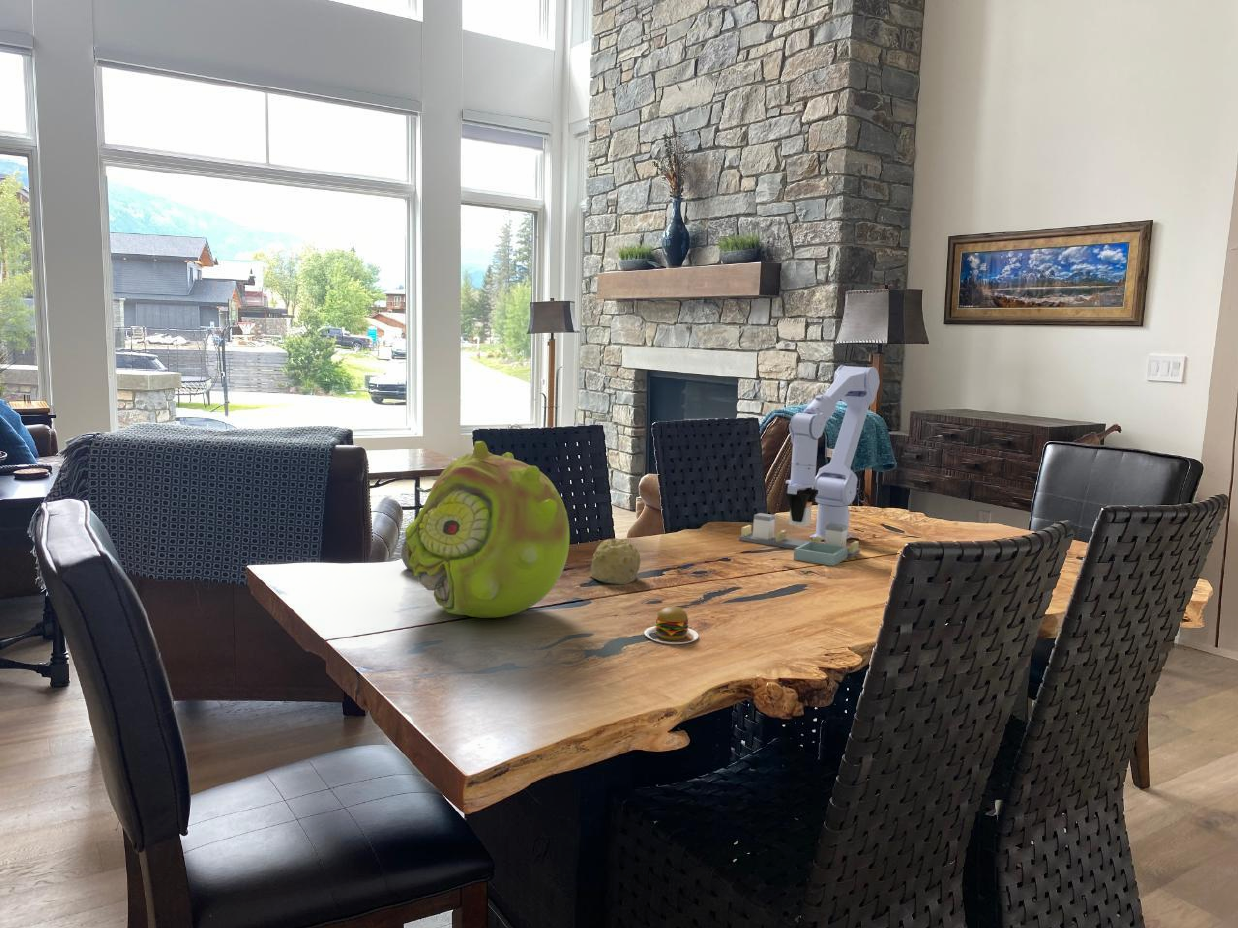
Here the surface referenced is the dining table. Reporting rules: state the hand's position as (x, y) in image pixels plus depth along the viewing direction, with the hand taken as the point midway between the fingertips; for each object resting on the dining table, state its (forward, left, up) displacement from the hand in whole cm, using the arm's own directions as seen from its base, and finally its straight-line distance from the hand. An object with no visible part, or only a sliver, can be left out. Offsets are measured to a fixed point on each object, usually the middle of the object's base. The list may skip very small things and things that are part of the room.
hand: (800, 520), depth 227 cm
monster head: (+89, -24, -7) cm, 92 cm away
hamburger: (+80, +7, -7) cm, 81 cm away
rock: (+54, -19, -7) cm, 58 cm away
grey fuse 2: (0, +9, -6) cm, 11 cm away
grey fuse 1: (0, -9, -6) cm, 11 cm away
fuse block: (0, 0, -7) cm, 7 cm away
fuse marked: (0, 0, -1) cm, 1 cm away
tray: (+9, +8, -7) cm, 14 cm away
